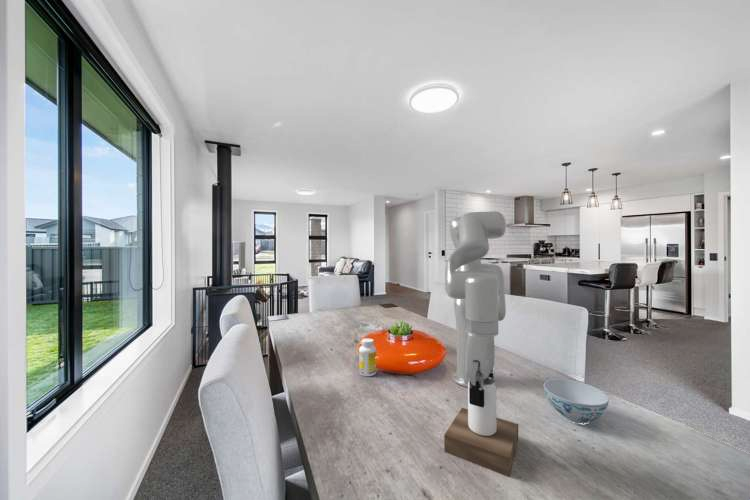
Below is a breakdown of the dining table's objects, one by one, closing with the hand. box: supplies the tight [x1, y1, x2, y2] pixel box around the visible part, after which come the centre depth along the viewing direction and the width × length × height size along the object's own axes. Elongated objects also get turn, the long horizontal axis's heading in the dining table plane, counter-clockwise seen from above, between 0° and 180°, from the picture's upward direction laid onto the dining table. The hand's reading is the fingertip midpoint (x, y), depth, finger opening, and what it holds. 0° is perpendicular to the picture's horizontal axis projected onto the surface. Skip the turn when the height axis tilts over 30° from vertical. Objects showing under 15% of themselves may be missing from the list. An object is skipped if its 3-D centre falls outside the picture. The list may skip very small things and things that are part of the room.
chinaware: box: [543, 378, 610, 424], centre depth 81 cm, size 15×15×8 cm
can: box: [467, 374, 498, 436], centre depth 70 cm, size 6×6×12 cm
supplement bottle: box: [358, 338, 378, 377], centre depth 112 cm, size 7×7×13 cm
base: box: [443, 407, 519, 478], centre depth 70 cm, size 14×14×4 cm
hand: (481, 395), depth 70 cm, fingers open, 9 cm apart
